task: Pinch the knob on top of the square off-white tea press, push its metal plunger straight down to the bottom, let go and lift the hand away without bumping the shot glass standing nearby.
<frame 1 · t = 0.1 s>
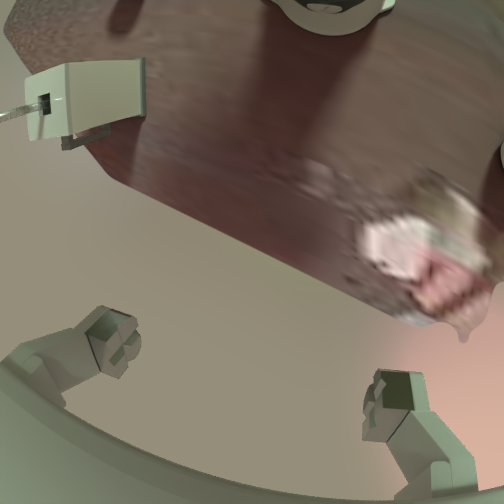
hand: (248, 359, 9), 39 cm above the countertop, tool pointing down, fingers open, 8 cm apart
press: (121, 89, 44), on the countertop
plunger: (23, 110, 26), point 22 cm above the countertop, slide at 0.0 cm
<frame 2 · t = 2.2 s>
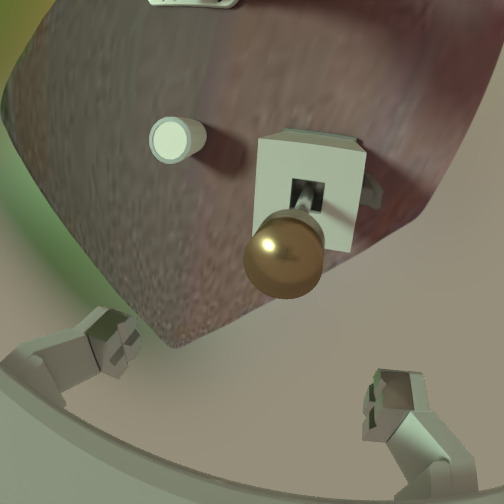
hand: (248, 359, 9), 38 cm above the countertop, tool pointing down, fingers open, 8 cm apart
press: (316, 166, 43), on the countertop
shot glass: (191, 136, 46), on the countertop
plunger: (302, 207, 24), point 22 cm above the countertop, slide at 0.0 cm
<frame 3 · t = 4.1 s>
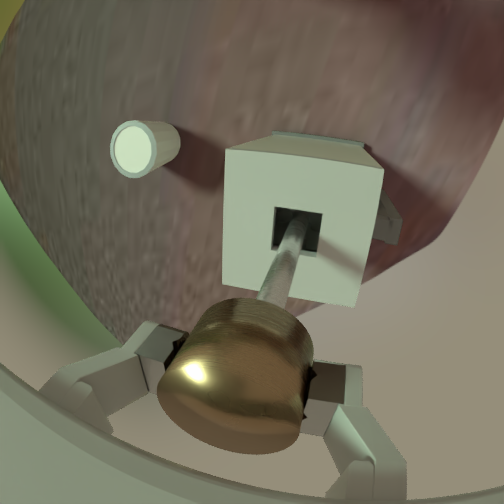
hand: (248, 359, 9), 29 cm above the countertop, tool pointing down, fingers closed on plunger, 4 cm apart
press: (314, 178, 35), on the countertop
shot glass: (162, 142, 38), on the countertop
plunger: (286, 257, 16), point 21 cm above the countertop, slide at 0.0 cm, touching gripper
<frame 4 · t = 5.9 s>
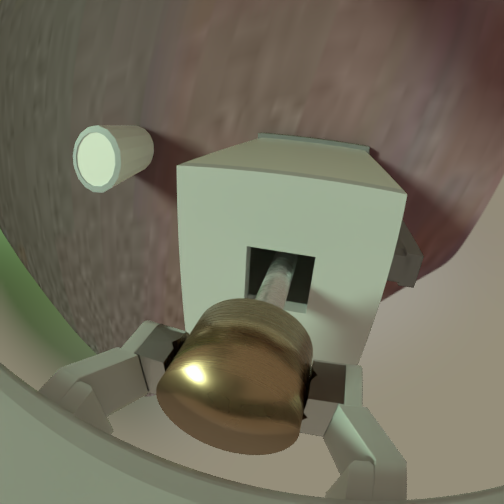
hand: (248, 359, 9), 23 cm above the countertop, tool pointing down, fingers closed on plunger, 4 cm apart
press: (309, 190, 29), on the countertop
shot glass: (135, 148, 32), on the countertop
plunger: (286, 257, 16), point 15 cm above the countertop, slide at 6.2 cm, touching gripper
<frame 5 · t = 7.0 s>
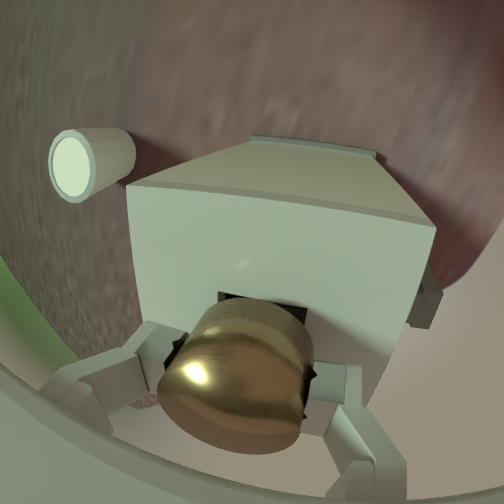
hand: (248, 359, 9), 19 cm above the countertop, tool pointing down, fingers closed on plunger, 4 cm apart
press: (307, 200, 26), on the countertop
shot glass: (116, 153, 29), on the countertop
plunger: (287, 257, 16), point 12 cm above the countertop, slide at 10.0 cm, touching gripper
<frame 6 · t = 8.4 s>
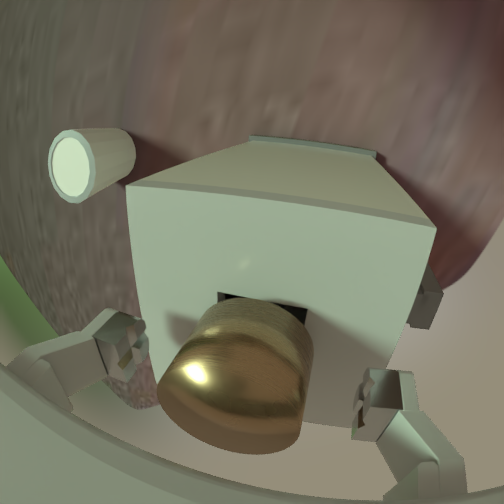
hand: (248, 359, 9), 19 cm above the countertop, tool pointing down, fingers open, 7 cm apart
press: (307, 200, 26), on the countertop
shot glass: (116, 153, 29), on the countertop
plunger: (287, 257, 16), point 11 cm above the countertop, slide at 10.0 cm
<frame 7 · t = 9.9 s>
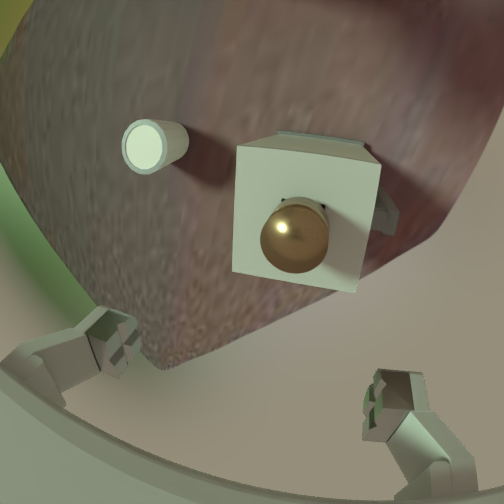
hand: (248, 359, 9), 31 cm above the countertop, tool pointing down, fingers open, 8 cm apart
press: (316, 176, 36), on the countertop
shot glass: (171, 141, 40), on the countertop
plunger: (309, 199, 26), point 11 cm above the countertop, slide at 10.0 cm
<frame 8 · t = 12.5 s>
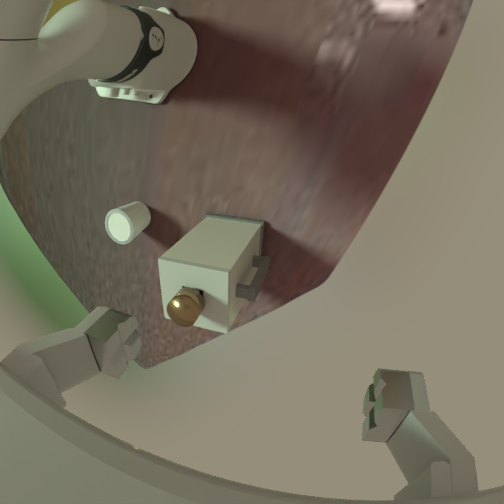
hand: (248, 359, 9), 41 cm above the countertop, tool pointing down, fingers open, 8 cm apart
press: (234, 244, 55), on the countertop
shot glass: (139, 214, 58), on the countertop
plunger: (210, 274, 45), point 11 cm above the countertop, slide at 10.0 cm
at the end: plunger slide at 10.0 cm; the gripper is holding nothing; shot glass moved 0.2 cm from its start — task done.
